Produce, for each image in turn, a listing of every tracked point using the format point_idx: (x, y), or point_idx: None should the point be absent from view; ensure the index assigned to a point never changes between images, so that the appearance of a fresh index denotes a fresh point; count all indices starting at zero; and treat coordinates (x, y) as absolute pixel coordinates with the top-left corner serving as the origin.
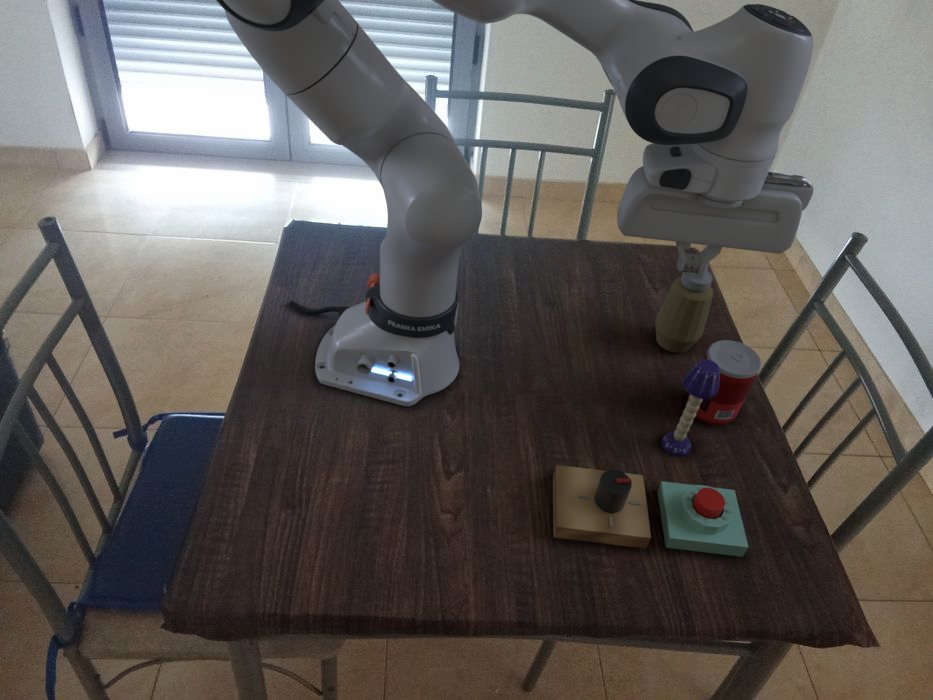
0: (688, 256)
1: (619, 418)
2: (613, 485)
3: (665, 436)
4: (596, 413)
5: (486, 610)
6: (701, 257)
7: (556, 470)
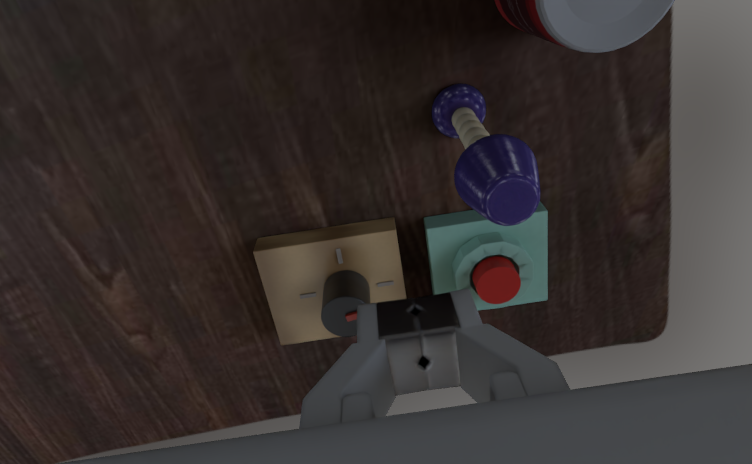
0: (401, 359)
1: (348, 71)
2: (342, 324)
3: (437, 109)
4: (301, 72)
5: (234, 421)
6: (466, 367)
7: (256, 262)
